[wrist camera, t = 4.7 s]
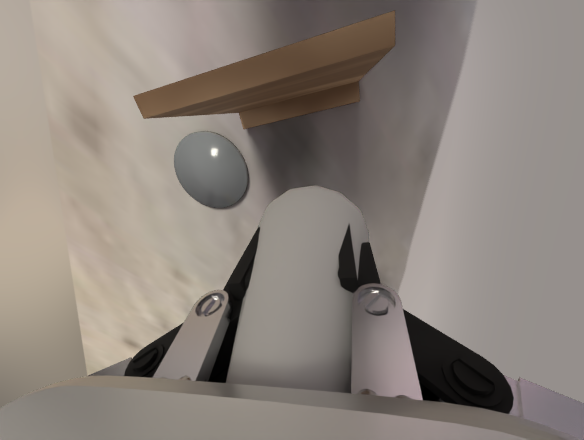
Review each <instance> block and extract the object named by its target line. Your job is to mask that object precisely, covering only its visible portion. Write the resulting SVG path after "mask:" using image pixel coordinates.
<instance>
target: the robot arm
mask: <svg viewBox="0 0 584 440" xmlns="http://www.w3.org/2000/svg"><path fill="white" fill-rule="evenodd" d="M259 233H260V227H258V229H257V231H256V232H255V234H254V236H253V238H252V239H251V241H250V243H249V245H248V246H247V248H246V250H245V252H244V254H243V255H242V257H241V259H240V261H239V262H238V264H237V266H236V268H235V269H234V271H233V273H232V275H231V277H230V278H229V280H228V282H227V284H226V286H225V288H224V289H223V290H214V291H211V292H209V293H207V294H205V295H204V296H202V297H201V298H200V299H199V300H198V301H197V302H196V303H195V304H194V306H193V307H192V309H191V311H190V313H189V314H188V316H187V318H186V320H185V321H184V323H182V324H181V325H179V326H178V327H176V328H174V329H173V330H171V331H170V332H168V333H166V334H165V335H163V336H162V337H160V338H159V339H157V340H155V341H154V342H152V343H151V344H149V345H147V346H146V347H145V348H143V349H142V350H140V351H139V352H138V353H137V354H136V355H135V356H134V357H133V359H132V358H128V359H126V360H124V361H121V362H119V363H117V364H114V365H112V366H110V367H107V368H105V369H102V370H100V371H98V372H95V373H93V374H91V375H88V376H86V377H79V378H74V379H69V380H65V381H61V382H57V383H54V384H51V385H48V386H45V387H42V388H40V389H37V390H35V391H32V392H30V393H28V394H26V395H24V396H21V397H19V398H17V399H15V400H14V401H12V402H10V403H8V404H7V405H5V406H3V407H2V408H0V440H584V403H582V402H579V401H577V400H574V399H572V398H569V397H567V396H564V395H562V394H559V393H557V392H554V391H552V390H550V389H547V388H545V387H542V386H540V385H537V384H535V383H532V382H530V381H527V380H525V379H522V378H519V379H518V381H516V380H514V379H512V378H509V377H507V376H504V375H503V374H502V373H501V372H500V371H499V370H498V369H497V368H496V367H495V366H494V365H493V364H491V363H490V362H489V361H487V360H486V359H484V358H483V357H481V356H480V355H478V354H476V353H475V352H473V351H472V350H470V349H468V348H467V347H465V346H463V345H462V344H460V343H458V342H457V341H455V340H453V339H452V338H450V337H448V336H447V335H445V334H443V333H442V332H440V331H439V330H437V329H435V328H434V327H432V326H430V325H428V324H427V323H425V322H424V321H422V320H420V319H419V318H417V317H415V316H414V315H412V314H410V313H409V312H407V311H405V310H404V309H403V308H402V303H401V300H400V298H399V295H398V294H397V293H396V292H395V291H394V290H393V289H391V288H389V287H388V286H385V285H382V284H380V280H379V276H378V272H377V269H376V265H375V261H374V257H373V254H372V250H371V246H370V243H369V242H364V243H362V244H361V250H360V257H359V269H358V280H357V272H356V265H355V258H354V252H353V245H352V238H351V231H350V224H349V225H348V228H347V231H346V234H345V237H344V240H343V243H342V246H341V249H340V252H339V269H338V278H339V279H340V284H341V287H342V288H344V289H345V290H347V291H349V292H351V293H354V294H353V299H352V368H351V393H340V392H328V391H316V390H304V389H292V388H280V387H267V386H255V385H242V384H229V383H226V379H227V374H228V369H229V365H230V360H231V355H232V350H233V345H234V341H235V336H236V331H237V326H238V321H239V316H240V312H241V307H242V302H243V298H244V296H245V294H246V291H247V289H248V287H249V283H250V279H251V274H252V270H253V266H254V260H255V255H256V251H257V246H258V240H259Z"/></svg>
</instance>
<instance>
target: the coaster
mask: <svg viewBox="0 0 584 440" xmlns="http://www.w3.org/2000/svg"><path fill="white" fill-rule="evenodd" d="M174 167H175V172H176V175H177V177H178V180H179V182H180V184H181V185H182V187H183V188H184V189H185V191H186V192H187V193H188V194H189V195H190V196H191V197H192V198H194V199H195V200H196V201H198V202H200V203H202V204H204V205H206V206H210V207H214V208H223V207H228V206H230V205H232V204H234V203H236V202H237V201H238V200H239V199H240V198H241V197H242V196H243V194H244V193H245V191H246V188H247V185H248V170H247V166H246V163H245V160H244V158H243V156H242V154H241V153H240V151H239V150H238V149H237V147H236V146H235V145H234V144H233V143H232V142H230V141H229V140H228V139H227V138H225V137H223V136H221V135H219V134H217V133H213V132H208V131H201V132H195V133H192V134H189V135H188V136H186V137H185V138H183V139H182V140H181V142H180V143H179V144H178V146H177V148H176V151H175V155H174Z"/></svg>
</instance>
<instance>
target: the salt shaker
mask: <svg viewBox="0 0 584 440" xmlns="http://www.w3.org/2000/svg"><path fill="white" fill-rule="evenodd" d="M349 224H350V231H351V238H352V245H353V252H354V258H355V265H356V272H357V280H358V269H359V257H360V250H361V244H362V243H364V242H369V232H368V229H367V226H366V223H365V220H364V217H363V214H362V212H361V211H360V209H359V208H358V207H357V206H356V205H354V204H353V203H352V202H351V201H350V200H349V199H347V198H346V197H345V196H344V195H343V194H341V193H340V192H337V191H334V190H330V189H327V188H323V187H320V186H316V185H313V186H306V187H300V188H294V189H289V190H288V191H286V192H285V193H284V194H282V195H281V196H279V197H278V198H276V199H275V200H274V201H272V202H271V203H270V204H269V205H268V206H267V208H266V210H265V212H264V214H263V216H262V219H261V221H260V223H259V225H258V227H260V233H259V240H258V246H257V251H256V255H255V260H254V266H253V270H252V274H251V279H250V283H249V287H248V289H247V291H246V294H245V296H244V298H243V302H242V307H241V312H240V316H239V321H238V326H237V331H236V336H235V341H234V345H233V350H232V355H231V360H230V365H229V369H228V374H227V379H226V383H229V384H242V385H255V386H267V387H280V388H292V389H304V390H316V391H328V392H340V393H351V368H352V299H353V294H354V293H351V292H349V291H347V290H345V289H344V288H342V287H341V284H340V279H339V278H338V269H339V252H340V249H341V246H342V243H343V240H344V237H345V234H346V231H347V228H348V225H349Z"/></svg>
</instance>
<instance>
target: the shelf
mask: <svg viewBox="0 0 584 440" xmlns="http://www.w3.org/2000/svg"><path fill="white" fill-rule="evenodd" d="M394 46H395V10H394V11H391V12H388V13H385V14H382V15H379V16H376V17H373V18H370V19H367V20H364V21H361V22H358V23H355V24H352V25H349V26H346V27H343V28H340V29H336V30H333V31H330V32H327V33H324V34H321V35H318V36H315V37H312V38H309V39H306V40H303V41H300V42H297V43H294V44H291V45H288V46H285V47H282V48H279V49H275V50H272V51H269V52H266V53H263V54H260V55H257V56H254V57H251V58H248V59H245V60H242V61H239V62H236V63H233V64H230V65H227V66H224V67H221V68H218V69H214V70H211V71H208V72H205V73H202V74H199V75H196V76H193V77H190V78H187V79H184V80H181V81H178V82H175V83H172V84H169V85H166V86H163V87H160V88H156V89H153V90H150V91H147V92H144V93H141V94H138V95H135V96H133V97H134V99H135V101H136V103H137V105H138V108H139V110H140V112H141V114H142V116H143V118H144V119H146V118H162V117H178V116H194V115H210V114H226V113H239V115H240V119H241V122H242V126H243V129H247V128H251V127H255V126H259V125H264V124H268V123H272V122H276V121H280V120H284V119H288V118H293V117H297V116H301V115H305V114H309V113H313V112H317V111H322V110H326V109H330V108H334V107H338V106H342V105H346V104H351V103H355V102H359V101H360V96H359V80H360V79H361V78H362V77H363V76H364V75H365V74H366V73H367V72H368V71H369V70H371V69H372V68H373V67H374V66H375V65H376V64H377V63H378V62H379V61H380V60H381V59H382V58H383V57H384V56H385V55H386V54H387V53H388V52H389V51H390V50H391V49H392V48H393V47H394Z"/></svg>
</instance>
